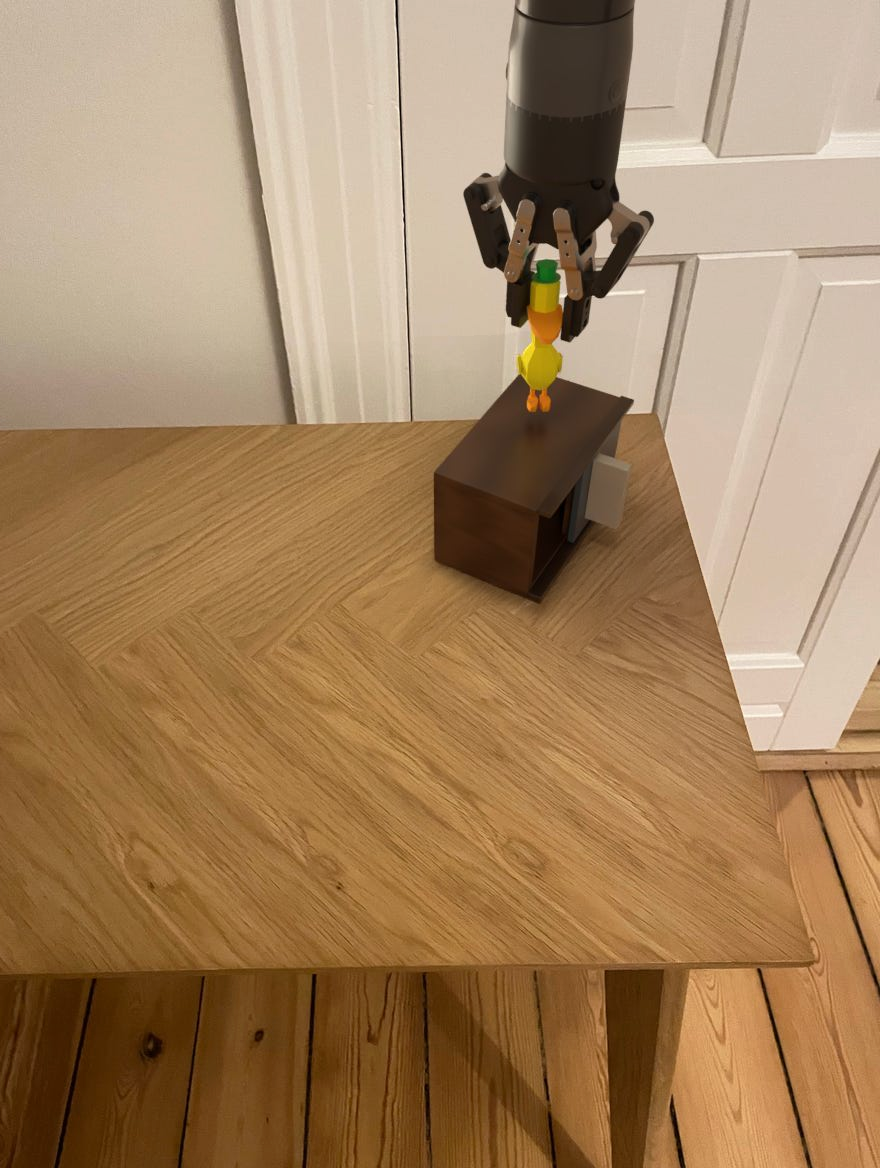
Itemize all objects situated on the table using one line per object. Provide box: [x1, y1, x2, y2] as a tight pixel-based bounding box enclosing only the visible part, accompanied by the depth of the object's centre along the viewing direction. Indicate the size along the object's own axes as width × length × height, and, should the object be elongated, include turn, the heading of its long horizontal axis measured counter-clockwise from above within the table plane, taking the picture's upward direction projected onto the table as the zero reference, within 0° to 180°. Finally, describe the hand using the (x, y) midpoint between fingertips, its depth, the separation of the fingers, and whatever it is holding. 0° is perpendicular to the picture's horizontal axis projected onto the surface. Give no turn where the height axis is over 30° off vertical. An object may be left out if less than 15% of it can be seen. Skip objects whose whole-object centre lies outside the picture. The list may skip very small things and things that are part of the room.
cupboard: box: [433, 373, 635, 604], centre depth 83 cm, size 10×16×10 cm, turn 149°
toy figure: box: [516, 258, 564, 412], centre depth 75 cm, size 7×4×12 cm, turn 179°
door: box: [567, 421, 633, 543], centre depth 82 cm, size 4×8×8 cm, turn 149°
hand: (545, 327), depth 74 cm, fingers closed on toy figure, 3 cm apart
